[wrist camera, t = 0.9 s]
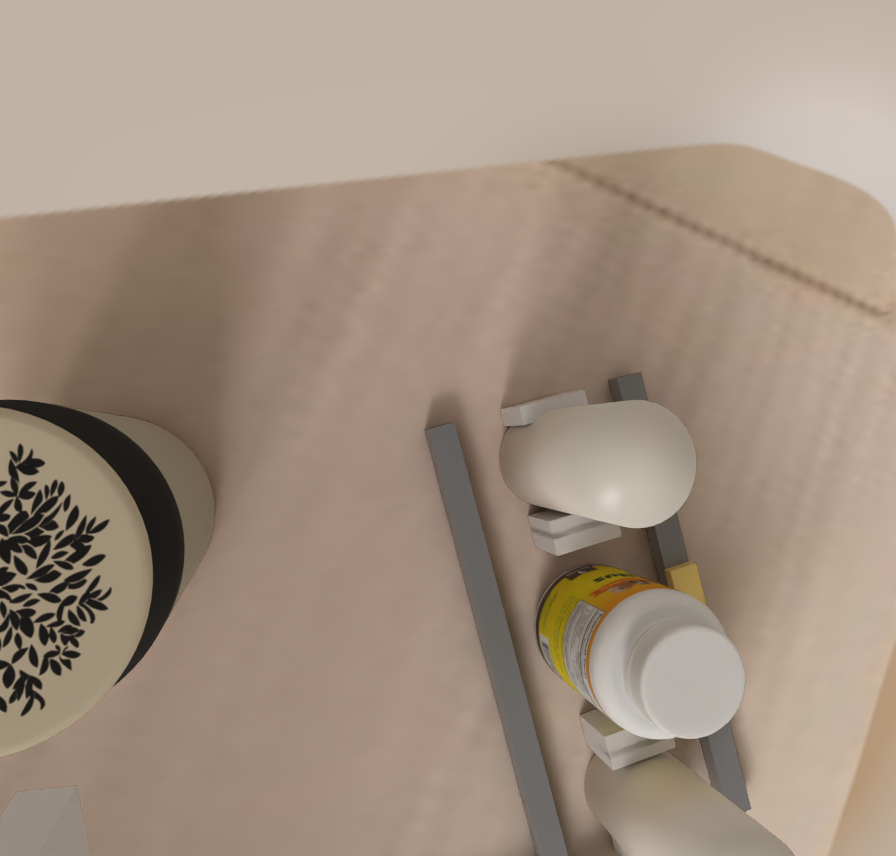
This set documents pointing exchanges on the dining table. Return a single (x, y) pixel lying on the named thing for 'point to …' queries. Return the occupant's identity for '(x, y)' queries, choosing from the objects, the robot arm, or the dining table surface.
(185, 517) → the travel mug
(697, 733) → the supplement bottle
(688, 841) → the twin cylinder holder
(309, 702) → the dining table surface
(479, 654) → the dining table surface
